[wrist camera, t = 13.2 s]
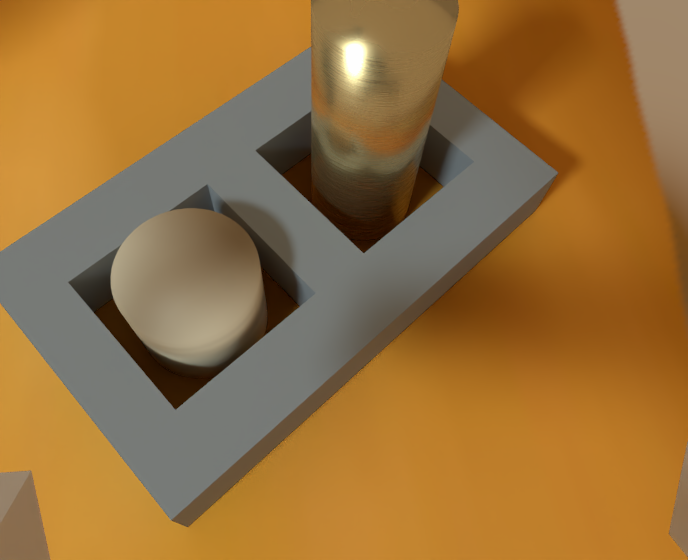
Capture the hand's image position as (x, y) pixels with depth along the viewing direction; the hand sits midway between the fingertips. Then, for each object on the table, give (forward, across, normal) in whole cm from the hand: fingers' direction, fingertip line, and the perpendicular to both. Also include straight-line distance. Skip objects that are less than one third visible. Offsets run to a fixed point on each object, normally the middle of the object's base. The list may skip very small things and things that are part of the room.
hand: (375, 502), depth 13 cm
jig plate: (+16, -2, 0) cm, 16 cm away
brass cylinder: (+18, +2, +2) cm, 18 cm away
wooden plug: (+14, -5, -2) cm, 15 cm away
